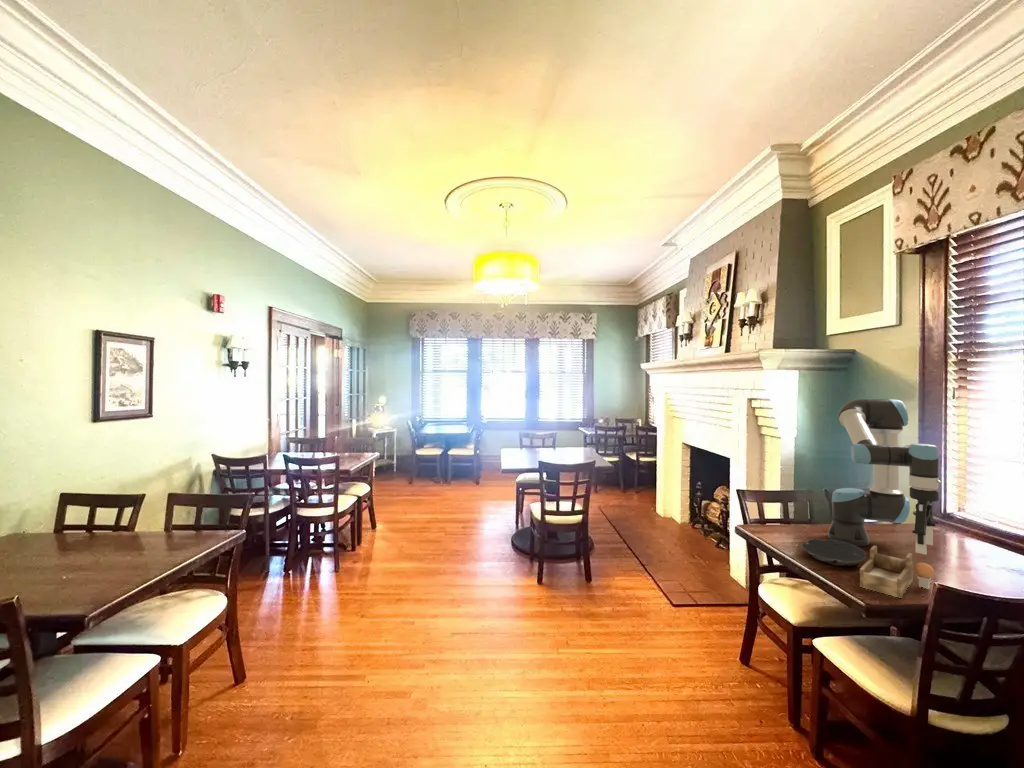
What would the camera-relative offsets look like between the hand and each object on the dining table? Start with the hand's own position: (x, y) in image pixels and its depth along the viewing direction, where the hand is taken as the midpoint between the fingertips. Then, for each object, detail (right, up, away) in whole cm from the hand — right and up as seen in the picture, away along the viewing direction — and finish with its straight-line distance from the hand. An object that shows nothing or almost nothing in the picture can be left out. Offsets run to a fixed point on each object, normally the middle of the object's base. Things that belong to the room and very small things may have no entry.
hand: (924, 548), depth 154 cm
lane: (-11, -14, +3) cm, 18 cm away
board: (-14, -14, +25) cm, 32 cm away
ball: (0, -8, 0) cm, 8 cm away
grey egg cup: (0, -14, 0) cm, 14 cm away
